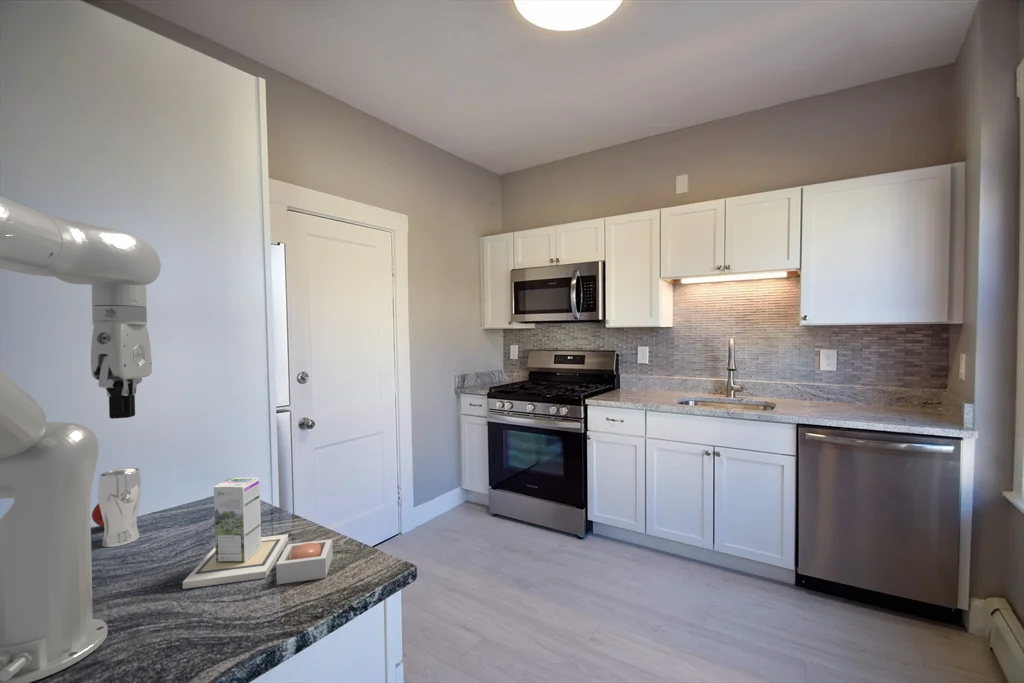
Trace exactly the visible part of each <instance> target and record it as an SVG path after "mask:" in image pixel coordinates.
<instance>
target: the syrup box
mask: <svg viewBox="0 0 1024 683" xmlns="http://www.w3.org/2000/svg"><path fill="white" fill-rule="evenodd" d="M213 503H214V506H213V507H214V508H213V509H214V538H215V539H214V540H215V541H214V543H215V546H214V547H216V562H246V561H247V560H249V559H250V558H251V557H253V556H254V555H255V554H256V553H257V552H259V551H260V550H261V548H262V544H261V537H262V529H261V526H262V525H261V524H262V523H261V522H262V520H261V518H262V517H261V480H260V477H231V478H228V479H226V480H223V481H222V482H220V483H218V484H216V485H215V486H213Z"/></svg>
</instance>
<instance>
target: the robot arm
mask: <svg viewBox="0 0 1024 683" xmlns="http://www.w3.org/2000/svg"><path fill="white" fill-rule="evenodd" d="M161 264H162V263H161V260H160V256H159V254H158V252H157V251H156V249H155V248H154V247H153V246H152V245H151V243H149V242H148V241H146V240H144V239H142V238H140V237H138V236H136V235H134V234H130V233H129V232H128V233H127V232H125V231H121V230H116V229H112V228H107V227H104V226H97V225H93V224H90V223H84V222H81V221H76V220H73V219H67V218H62V217H57V216H52V215H49V214H46V213H44V212H41V211H38V210H36V209H33V208H30V207H29V206H26V205H23V204H20V203H18V202H16V201H13V200H11V199H8V198H6V197H3V196H1V195H0V269H1V270H6V271H11V272H15V273H18V274H20V273H21V274H24V275H30V276H38V277H39V276H41V277H52V278H53V277H54V278H56V279H58V280H60V281H62V282H65V283H69V284H71V285H73V284H74V285H89V286H90V285H91V314H92V315H91V317H92V318H91V319H92V320H91V322H92V324H91V325H92V326H93V329H92V336H91V344H90V345H91V346H90V370H91V375H92V377H93V378H94V379H95V380H98V387H99V388H103V389H105V391H106V395H107V397H108V410H109V412H108V414H109V419H112V420H114V419H128V418H132V417H135V416H136V397H135V396H136V394H137V387H138V386H137V385H138V384H141V383H142V382H143V378H146V377H149V376H150V375H152V373H153V364H152V350H151V349H152V348H151V341H150V334H149V332H148V331H149V330H148V326H147V325H148V317H147V316H148V315H147V314H148V312H147V310H148V309H147V307H148V306H147V303H148V302H147V285H150V284H152V283H154V282H155V281H156V280H157V279H158V277H159V275H160V273H161V267H162V266H161ZM46 417H47V416H46V413H45V412H44V410H43V408H42V407H41V405H40V404H39V403H38V402H37V401H36V400H35V399H34V398H33V397H32V396H31V394H29V393H28V392H27V391H26V390H25V389H23V388H22V387H21V386H20V384H18V383H17V382H15V380H13V379H12V378H11V377H10V376H8V374H6V372H4V371H3V370H2V369H0V499H13V503H12V504H11V505H10V507H9V508H8V510H7V511H5V513H4V514H3V515H2V517H1V518H0V683H32V682H36V681H39V680H41V679H44V678H46V677H49V676H52V675H55V674H57V673H59V672H61V671H63V670H65V669H67V668H68V667H71V666H73V665H74V664H76V663H78V662H80V661H81V660H83V659H84V658H86V657H88V656H89V655H90V654H92V653H93V652H94V651H96V650H97V649H98V648H99V647H100V646H101V645H102V644H103V643H104V641H105V640H106V639H107V636H108V634H109V633H108V632H109V631H108V624H107V623H106V622H105V621H103V620H102V619H97V618H94V617H93V582H92V581H93V580H92V579H93V577H92V576H93V575H92V574H93V573H92V572H93V571H92V570H93V569H92V567H93V566H92V530H91V529H92V528H91V502H92V490H93V482H94V475H95V472H96V467H97V463H98V456H99V441H98V440H99V439H98V438H97V436H96V434H95V433H94V432H93V431H92V430H91V429H90V428H88V427H87V426H84V425H81V424H78V423H74V422H62V421H59V422H58V421H57V422H56V421H54V422H53V421H50V422H49V421H48V422H47V418H46Z"/></svg>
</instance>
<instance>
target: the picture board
mask: <svg viewBox="0 0 1024 683" xmlns="http://www.w3.org/2000/svg"><path fill="white" fill-rule="evenodd" d="M288 541H289V534H279V535H278V534H277V535H269V536H261V544H262V548H261V550H260V551H259V552H257V553H256V554H255V555H254V556H253V557H251V558H250V559H249V560H247V561H246V562H216V546H214V547H213V548H212V550H211V551H210V552H209V553H208V554H207V555H206V556H205V557H204V558H203V559H202V561H201V562H200V563H199V564H198V565H197V566H196V567H195V568H194V569H193V570H192V572H191V573H189V574H188V576H186V578H185V579H184V580H183V581H182V590H185V589H191V588H200V587H208V586H214V585H221V584H229V583H230V584H231V583H237V582H245V581H246V582H247V581H252V580H254V581H255V580H259V579H266V578H267V577H268V576H269V573H270V572H271V570H272V568H273V567H274V565H275V563H277V559H278V558H279V556H280V555H281V553H282V551H284V549H285V547H286V544H287V543H286V542H288Z"/></svg>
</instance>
